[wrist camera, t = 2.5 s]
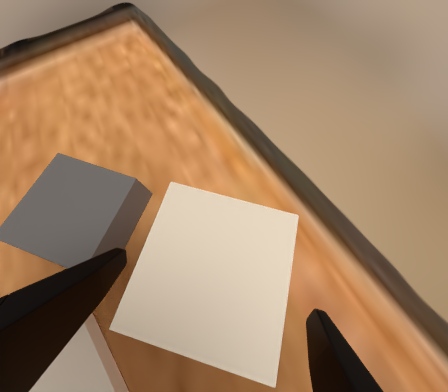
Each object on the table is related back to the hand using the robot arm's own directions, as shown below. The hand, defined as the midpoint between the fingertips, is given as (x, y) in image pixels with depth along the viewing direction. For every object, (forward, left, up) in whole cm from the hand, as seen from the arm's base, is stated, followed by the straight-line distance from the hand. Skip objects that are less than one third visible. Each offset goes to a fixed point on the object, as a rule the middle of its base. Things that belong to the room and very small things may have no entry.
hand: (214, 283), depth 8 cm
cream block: (+1, +1, -8) cm, 9 cm away
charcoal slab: (-6, +12, -9) cm, 16 cm away
